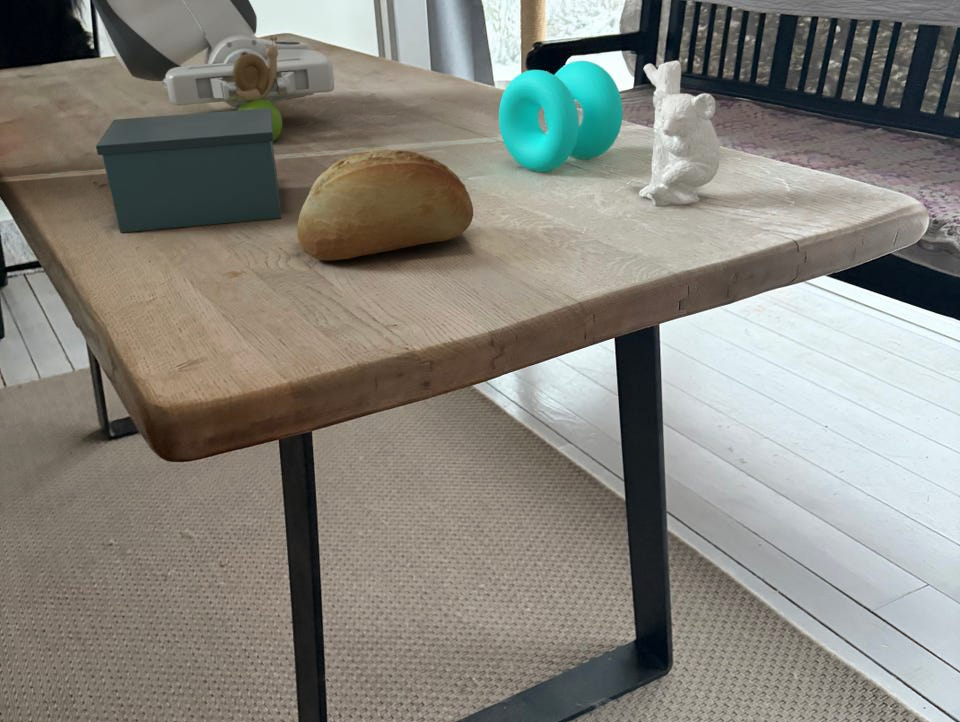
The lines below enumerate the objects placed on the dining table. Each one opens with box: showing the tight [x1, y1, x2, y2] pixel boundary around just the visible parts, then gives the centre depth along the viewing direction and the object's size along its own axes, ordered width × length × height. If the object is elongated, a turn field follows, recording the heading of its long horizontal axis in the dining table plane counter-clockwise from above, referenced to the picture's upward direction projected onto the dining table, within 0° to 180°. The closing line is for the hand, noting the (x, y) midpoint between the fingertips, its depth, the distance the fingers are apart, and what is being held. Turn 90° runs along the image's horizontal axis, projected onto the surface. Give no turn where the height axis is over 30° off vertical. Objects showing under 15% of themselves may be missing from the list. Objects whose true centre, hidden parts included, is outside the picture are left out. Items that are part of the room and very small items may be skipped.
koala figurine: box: [638, 60, 722, 207], centre depth 85 cm, size 8×7×12 cm
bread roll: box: [296, 149, 474, 261], centre depth 77 cm, size 10×15×8 cm, turn 114°
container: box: [95, 108, 282, 234], centre depth 90 cm, size 15×12×8 cm
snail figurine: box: [233, 35, 283, 143], centre depth 113 cm, size 5×6×12 cm
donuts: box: [498, 60, 624, 173], centre depth 100 cm, size 10×10×10 cm
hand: (258, 89), depth 112 cm, fingers closed on snail figurine, 5 cm apart
